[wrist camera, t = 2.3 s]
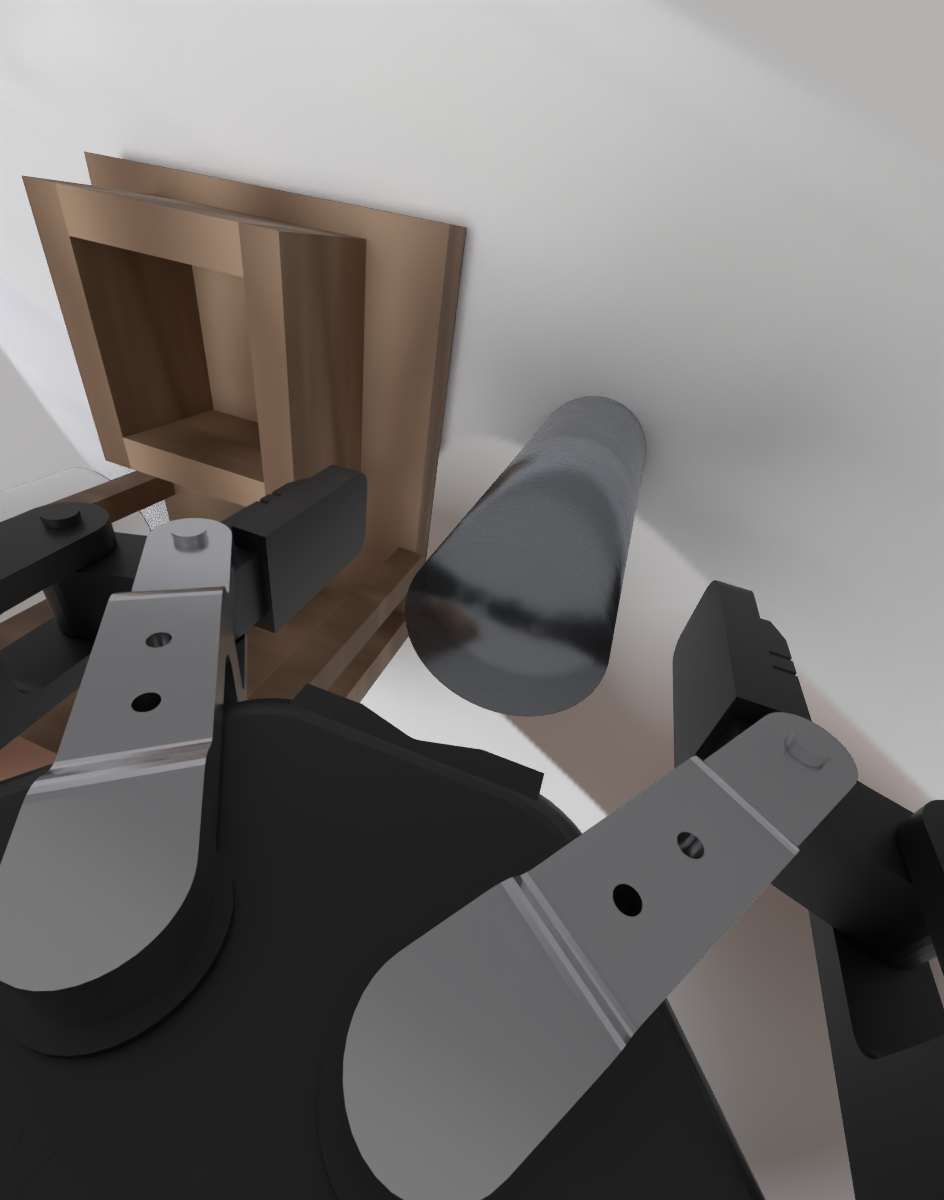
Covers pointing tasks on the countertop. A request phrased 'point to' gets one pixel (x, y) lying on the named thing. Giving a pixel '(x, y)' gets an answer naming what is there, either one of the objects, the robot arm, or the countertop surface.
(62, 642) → the robot arm
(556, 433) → the steel peg
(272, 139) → the countertop surface
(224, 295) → the wooden frame stand
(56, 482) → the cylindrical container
